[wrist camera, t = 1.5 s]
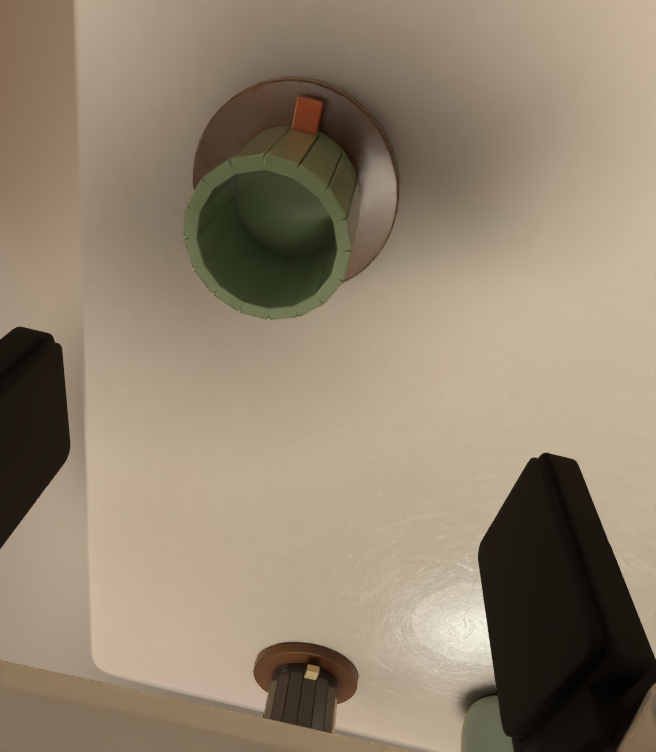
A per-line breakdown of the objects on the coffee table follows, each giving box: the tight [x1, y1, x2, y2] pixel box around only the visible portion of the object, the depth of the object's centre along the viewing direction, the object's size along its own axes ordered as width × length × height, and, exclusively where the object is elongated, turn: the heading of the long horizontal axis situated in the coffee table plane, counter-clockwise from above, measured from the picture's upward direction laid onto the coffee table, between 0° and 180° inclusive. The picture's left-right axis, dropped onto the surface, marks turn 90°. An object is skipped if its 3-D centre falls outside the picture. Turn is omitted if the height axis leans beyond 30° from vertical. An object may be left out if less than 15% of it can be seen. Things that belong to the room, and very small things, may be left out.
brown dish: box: [193, 77, 399, 283], centre depth 24 cm, size 9×9×1 cm
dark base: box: [253, 643, 358, 704], centre depth 47 cm, size 9×9×1 cm
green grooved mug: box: [184, 95, 361, 320], centre depth 21 cm, size 6×7×6 cm
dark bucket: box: [263, 663, 338, 734], centre depth 44 cm, size 6×7×6 cm
